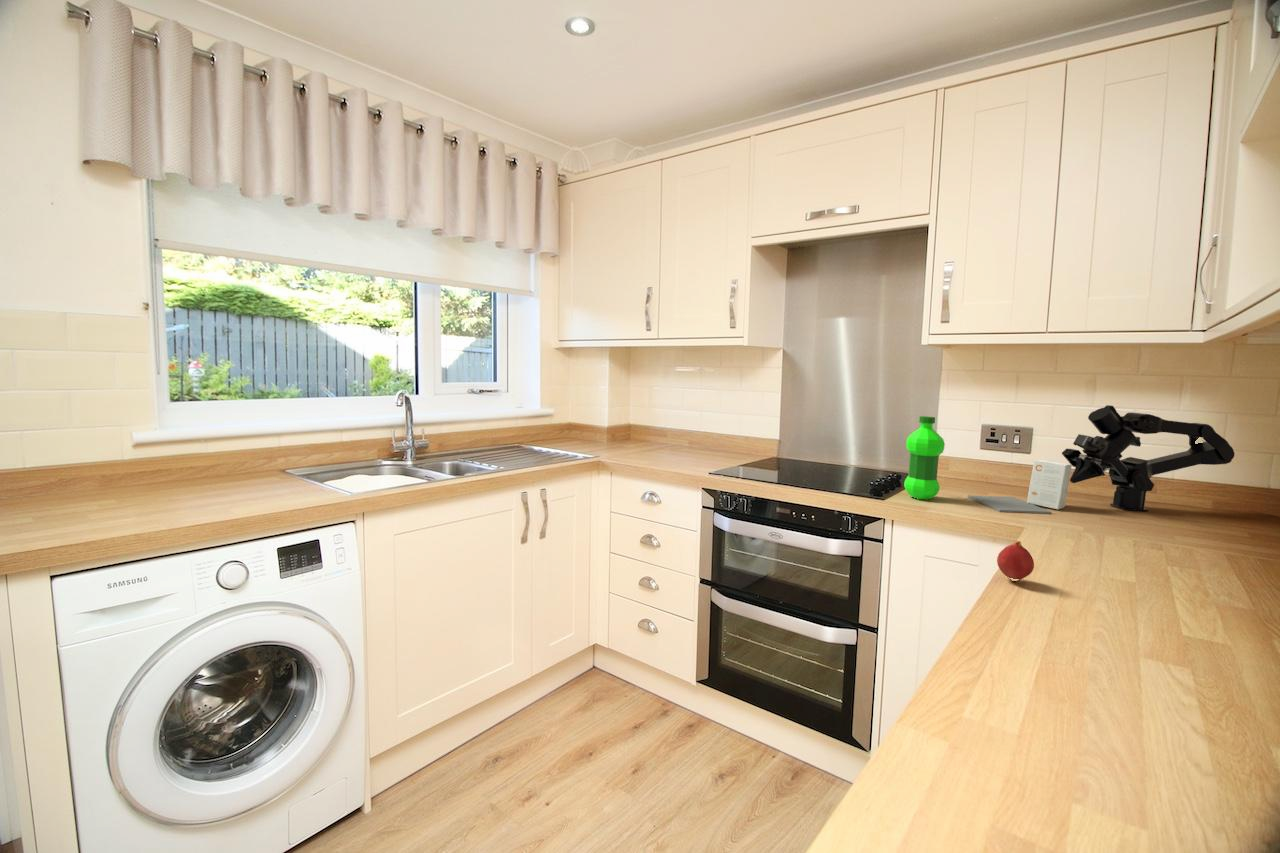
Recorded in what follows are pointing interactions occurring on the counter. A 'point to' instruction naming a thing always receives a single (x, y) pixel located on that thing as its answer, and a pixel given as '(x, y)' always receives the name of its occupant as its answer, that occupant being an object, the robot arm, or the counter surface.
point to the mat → (1008, 504)
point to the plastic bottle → (923, 460)
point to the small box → (1049, 484)
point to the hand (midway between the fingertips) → (1071, 481)
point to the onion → (1015, 561)
